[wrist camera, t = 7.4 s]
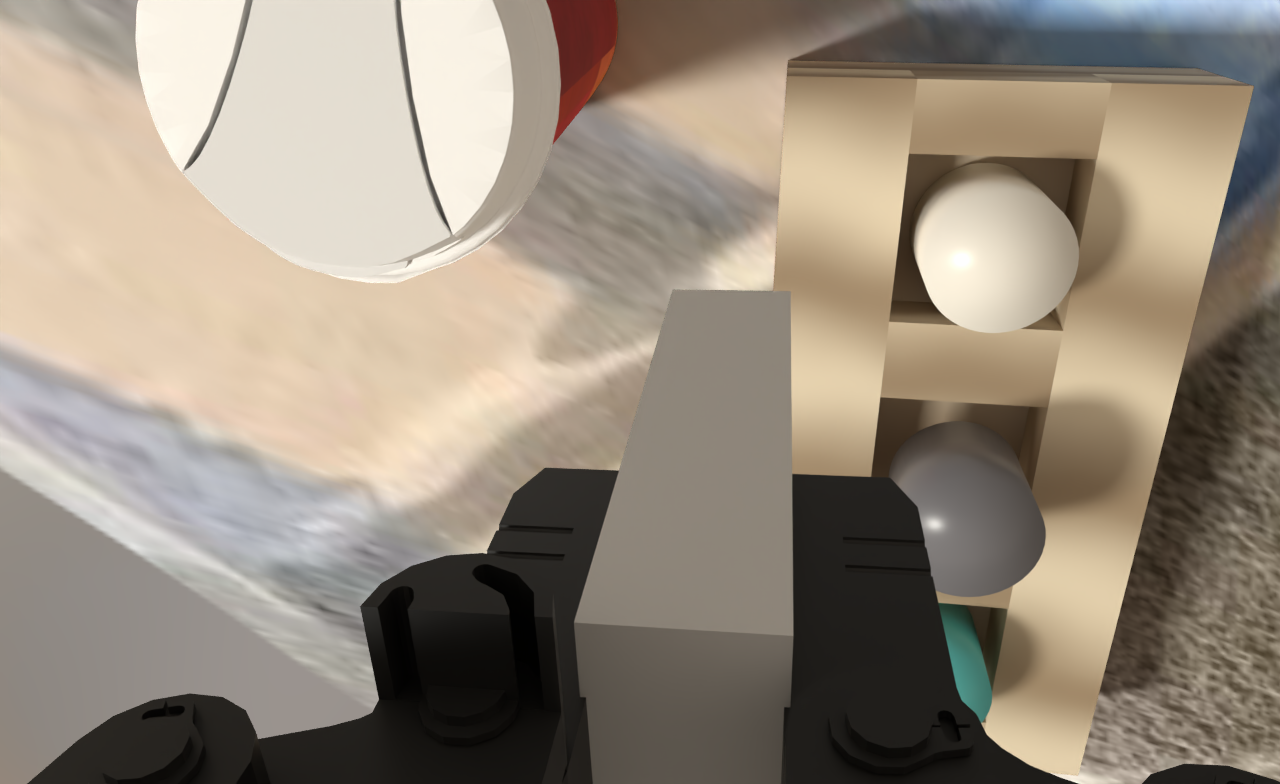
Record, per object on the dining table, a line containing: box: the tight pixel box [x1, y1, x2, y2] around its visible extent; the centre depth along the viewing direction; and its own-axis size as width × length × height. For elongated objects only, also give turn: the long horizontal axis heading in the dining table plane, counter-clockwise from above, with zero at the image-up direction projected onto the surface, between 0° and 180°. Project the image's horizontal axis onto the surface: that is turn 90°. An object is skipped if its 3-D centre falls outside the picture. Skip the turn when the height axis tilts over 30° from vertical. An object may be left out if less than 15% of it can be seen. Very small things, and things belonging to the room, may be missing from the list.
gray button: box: [889, 421, 1046, 597], centre depth 29 cm, size 4×4×4 cm
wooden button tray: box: [773, 60, 1254, 776], centre depth 33 cm, size 24×12×4 cm, turn 0°
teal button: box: [939, 603, 992, 723], centre depth 34 cm, size 4×4×4 cm
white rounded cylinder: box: [910, 163, 1079, 333], centre depth 28 cm, size 4×4×4 cm
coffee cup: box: [136, 0, 618, 283], centre depth 24 cm, size 8×8×15 cm
